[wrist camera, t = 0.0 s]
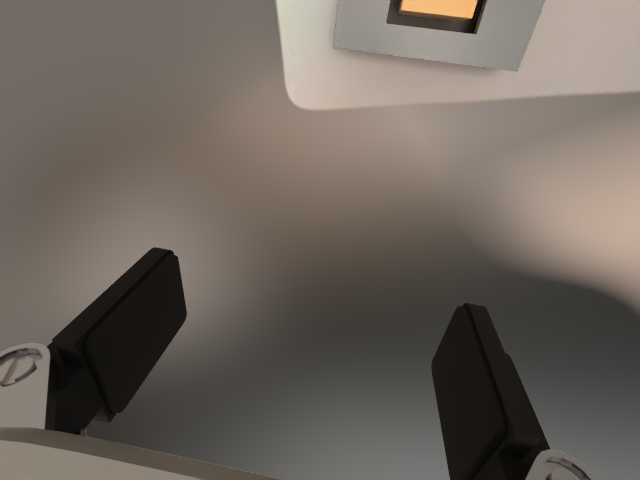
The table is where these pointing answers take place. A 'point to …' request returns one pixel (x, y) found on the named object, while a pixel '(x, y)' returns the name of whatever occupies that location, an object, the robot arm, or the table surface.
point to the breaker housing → (441, 34)
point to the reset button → (439, 9)
